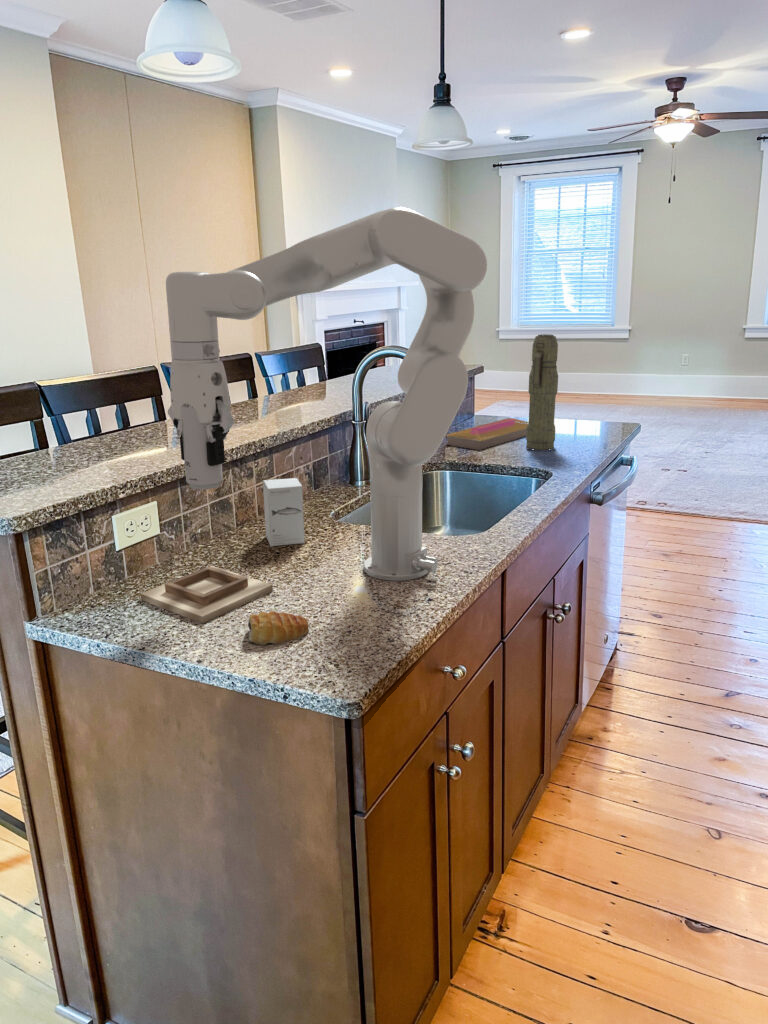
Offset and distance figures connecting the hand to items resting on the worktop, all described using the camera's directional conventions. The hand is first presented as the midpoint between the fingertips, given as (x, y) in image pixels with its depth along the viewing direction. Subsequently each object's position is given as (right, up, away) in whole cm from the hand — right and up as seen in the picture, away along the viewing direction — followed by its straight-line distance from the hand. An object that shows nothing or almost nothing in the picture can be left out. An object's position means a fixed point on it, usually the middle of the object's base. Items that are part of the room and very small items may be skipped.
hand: (203, 460), depth 127 cm
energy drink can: (0, -4, +1) cm, 5 cm away
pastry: (+13, -28, -9) cm, 32 cm away
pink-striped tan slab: (+67, +15, +128) cm, 145 cm away
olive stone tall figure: (+80, +12, +114) cm, 139 cm away
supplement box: (+10, -15, +33) cm, 38 cm away
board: (-1, -23, +6) cm, 24 cm away
